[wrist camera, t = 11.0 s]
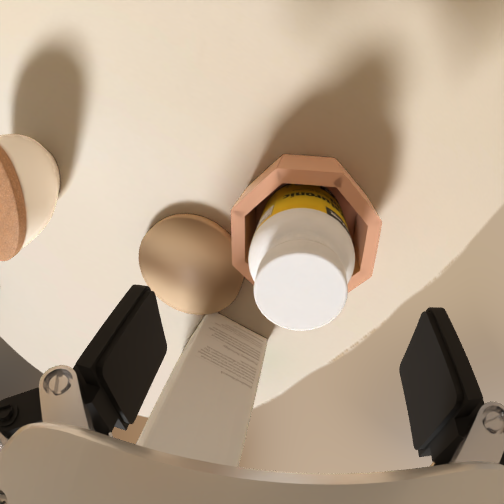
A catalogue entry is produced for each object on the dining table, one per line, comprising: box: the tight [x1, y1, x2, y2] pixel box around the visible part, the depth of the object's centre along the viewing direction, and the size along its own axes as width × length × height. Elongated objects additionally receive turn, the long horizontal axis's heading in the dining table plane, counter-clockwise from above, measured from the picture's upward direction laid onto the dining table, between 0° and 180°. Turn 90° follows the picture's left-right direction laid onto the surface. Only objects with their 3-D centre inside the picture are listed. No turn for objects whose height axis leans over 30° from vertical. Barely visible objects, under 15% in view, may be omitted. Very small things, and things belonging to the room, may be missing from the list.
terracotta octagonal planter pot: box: [231, 154, 382, 292], centre depth 20 cm, size 9×9×5 cm
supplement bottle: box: [248, 183, 355, 330], centre depth 17 cm, size 5×5×10 cm
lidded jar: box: [0, 134, 60, 261], centre depth 20 cm, size 11×11×9 cm
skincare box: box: [136, 312, 268, 467], centre depth 23 cm, size 8×7×16 cm
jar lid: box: [139, 214, 244, 315], centre depth 25 cm, size 9×9×1 cm
